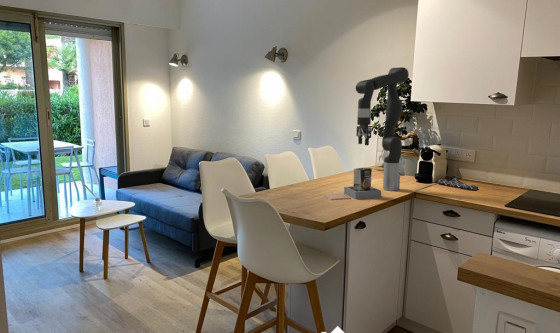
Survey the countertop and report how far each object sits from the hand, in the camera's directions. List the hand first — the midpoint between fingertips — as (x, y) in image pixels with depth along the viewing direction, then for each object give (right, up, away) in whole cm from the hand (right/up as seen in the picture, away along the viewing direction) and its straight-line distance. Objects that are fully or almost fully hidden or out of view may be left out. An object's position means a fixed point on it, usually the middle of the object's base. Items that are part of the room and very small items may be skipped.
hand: (363, 144), depth 241 cm
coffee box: (0, -30, +5) cm, 30 cm away
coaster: (-15, -30, 0) cm, 34 cm away
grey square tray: (0, -30, +4) cm, 30 cm away
